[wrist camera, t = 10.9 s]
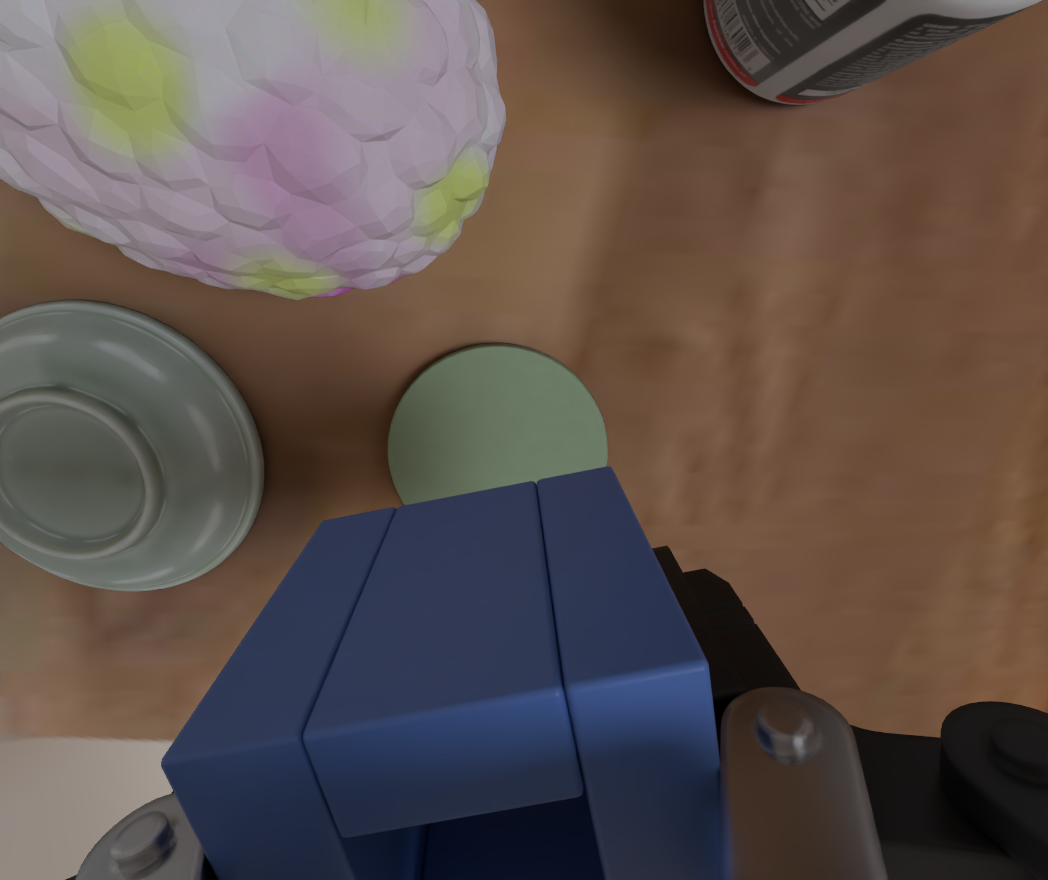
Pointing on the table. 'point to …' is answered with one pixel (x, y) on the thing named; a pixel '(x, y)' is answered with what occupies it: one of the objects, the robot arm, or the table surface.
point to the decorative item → (254, 132)
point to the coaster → (492, 424)
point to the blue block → (463, 703)
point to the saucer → (120, 448)
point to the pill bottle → (837, 40)
